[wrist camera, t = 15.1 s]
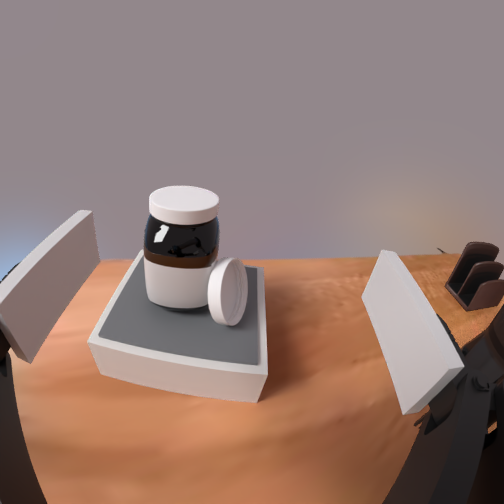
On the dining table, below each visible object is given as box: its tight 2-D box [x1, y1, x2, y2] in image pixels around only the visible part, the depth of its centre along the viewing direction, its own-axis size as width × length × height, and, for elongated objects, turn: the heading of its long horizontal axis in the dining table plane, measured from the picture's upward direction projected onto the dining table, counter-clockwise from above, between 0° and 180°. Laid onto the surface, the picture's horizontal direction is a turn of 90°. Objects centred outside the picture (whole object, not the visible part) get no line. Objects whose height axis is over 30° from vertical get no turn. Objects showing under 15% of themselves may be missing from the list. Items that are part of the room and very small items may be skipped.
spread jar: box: [144, 186, 248, 326], centre depth 28 cm, size 12×11×12 cm
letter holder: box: [445, 242, 504, 311], centre depth 49 cm, size 10×20×14 cm, turn 98°
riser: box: [87, 250, 268, 403], centre depth 32 cm, size 18×18×6 cm
